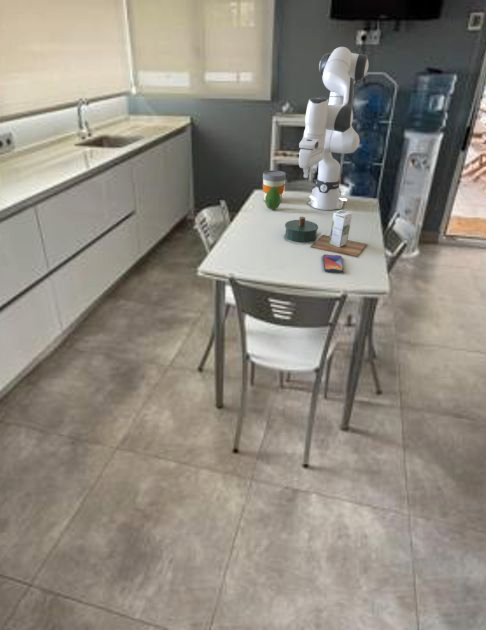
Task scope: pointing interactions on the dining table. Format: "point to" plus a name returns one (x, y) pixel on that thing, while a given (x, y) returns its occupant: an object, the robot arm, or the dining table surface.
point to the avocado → (272, 198)
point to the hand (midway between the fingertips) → (310, 175)
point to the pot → (300, 236)
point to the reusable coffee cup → (273, 181)
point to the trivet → (348, 249)
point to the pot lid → (301, 225)
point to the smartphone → (333, 263)
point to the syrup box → (340, 228)
